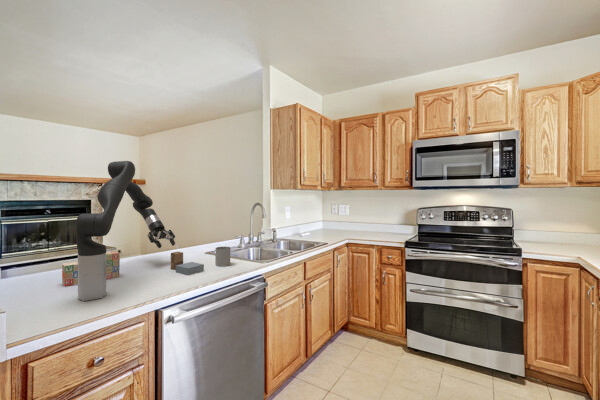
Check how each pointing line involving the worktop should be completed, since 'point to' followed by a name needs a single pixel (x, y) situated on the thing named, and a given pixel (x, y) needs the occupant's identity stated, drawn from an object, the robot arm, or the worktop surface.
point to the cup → (222, 256)
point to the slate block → (189, 268)
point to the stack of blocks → (72, 269)
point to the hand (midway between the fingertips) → (167, 246)
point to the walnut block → (176, 259)
